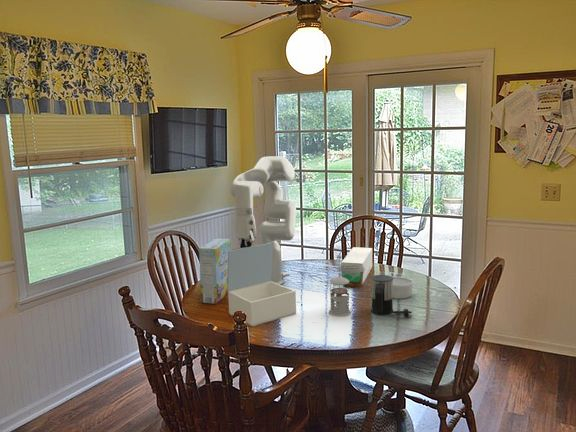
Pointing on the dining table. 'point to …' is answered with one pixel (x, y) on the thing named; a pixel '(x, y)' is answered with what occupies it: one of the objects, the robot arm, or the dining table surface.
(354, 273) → the food container
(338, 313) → the french press
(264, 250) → the lid flap
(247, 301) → the carton
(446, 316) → the dining table surface
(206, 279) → the snack box
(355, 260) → the long white box
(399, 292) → the ramekin
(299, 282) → the dining table surface
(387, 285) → the milk frother
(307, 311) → the dining table surface
